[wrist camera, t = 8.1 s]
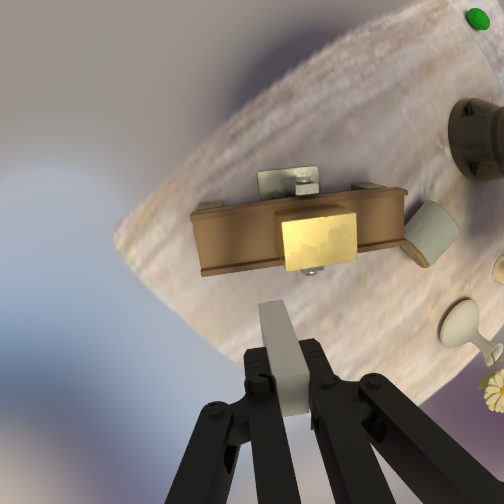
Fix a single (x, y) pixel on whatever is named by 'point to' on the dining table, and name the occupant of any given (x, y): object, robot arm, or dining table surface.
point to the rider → (315, 236)
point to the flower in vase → (466, 330)
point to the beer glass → (499, 270)
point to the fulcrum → (290, 190)
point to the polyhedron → (478, 19)
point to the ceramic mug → (429, 234)
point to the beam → (263, 228)
